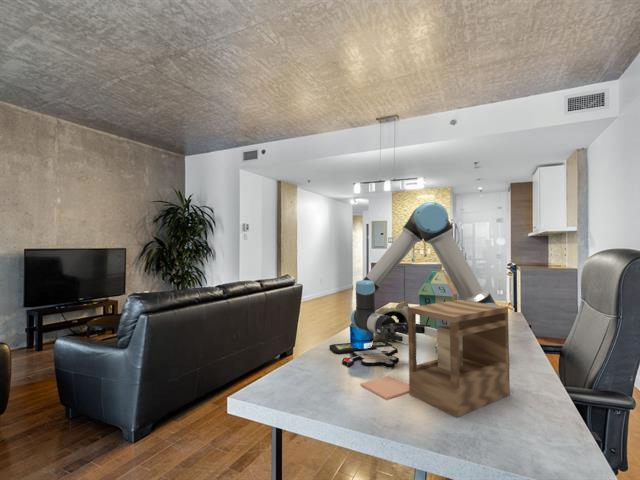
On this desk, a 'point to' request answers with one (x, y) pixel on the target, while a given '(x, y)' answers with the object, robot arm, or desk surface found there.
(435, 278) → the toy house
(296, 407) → the desk surface
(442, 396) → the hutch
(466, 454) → the desk surface
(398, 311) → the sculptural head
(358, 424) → the desk surface
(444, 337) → the beech block
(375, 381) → the terracotta tile
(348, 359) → the sign
